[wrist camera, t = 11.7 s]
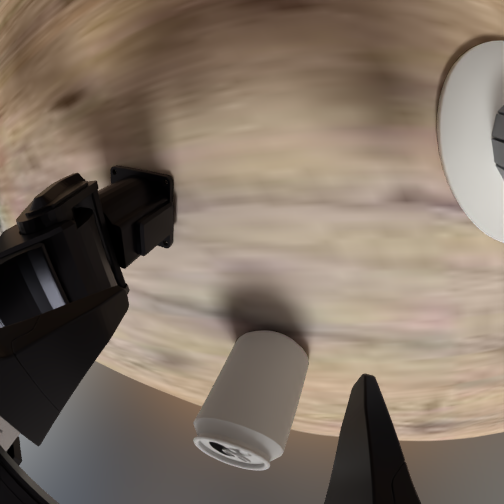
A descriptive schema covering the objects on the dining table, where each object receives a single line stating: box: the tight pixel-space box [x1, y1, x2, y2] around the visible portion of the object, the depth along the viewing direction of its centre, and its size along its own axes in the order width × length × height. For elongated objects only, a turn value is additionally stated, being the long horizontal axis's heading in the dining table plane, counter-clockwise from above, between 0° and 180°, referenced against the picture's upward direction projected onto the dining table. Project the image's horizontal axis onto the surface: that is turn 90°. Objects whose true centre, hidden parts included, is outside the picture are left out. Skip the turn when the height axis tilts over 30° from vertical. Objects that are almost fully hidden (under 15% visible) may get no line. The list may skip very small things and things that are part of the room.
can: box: [194, 330, 309, 470], centre depth 22 cm, size 8×8×12 cm
